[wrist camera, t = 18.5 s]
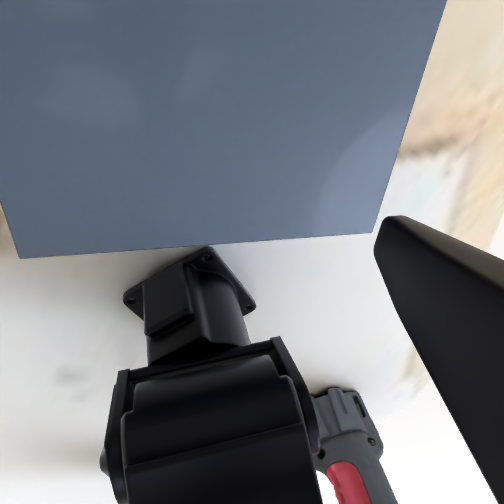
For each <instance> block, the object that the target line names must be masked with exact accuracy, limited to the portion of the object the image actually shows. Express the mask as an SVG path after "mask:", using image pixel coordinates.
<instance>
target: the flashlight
mask: <svg viewBox="0 0 504 504" xmlns="http://www.w3.org/2000/svg"><path fill="white" fill-rule="evenodd" d="M310 397H311V400H312V403H313V406H314V410H315V414H316V418H317V422H318V427H319V434H320V444H321V445H320V452H319V454H316V455H312V457H313V462H314V466H315V470H317V471H320V472H322V473H323V474H325V475H326V476H327V477H328V479H329V480H330V482H331V483H332V484H333V485H334V490H335V493H336V497H337V499H338V501H339V504H398V503H397V500H396V498H395V496H394V493H393V492H392V489H391V487H390V485H389V482H388V480H387V477H386V475H385V473H384V471H383V468H382V466H381V464H380V462H379V458H380V457H381V455H382V453H383V443H382V441H381V439H380V437H379V434H378V431H377V429H376V428H375V425H374V423H373V421H372V419H371V418H370V416H369V414H368V412H367V409H366V407H365V405H364V403H363V400H362V398H361V396H360V394H359V393H358V392H345V393H343V391H342V390H341V388H337V387H336V388H330V389H328V394H327V395H324V396H321V397H318V398H314V397H313V396H312V395H310Z"/></svg>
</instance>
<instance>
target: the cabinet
mask: <svg viewBox="0 0 504 504" xmlns="http://www.w3.org/2000/svg"><path fill="white" fill-rule="evenodd" d="M446 2H447V0H0V202H1V205H2V208H3V211H4V214H5V217H6V220H7V223H8V226H9V229H10V232H11V235H12V238H13V241H14V244H15V247H16V250H17V253H18V256H19V258H20V259H26V258H39V257H52V256H66V255H79V254H93V253H106V252H119V251H133V250H146V249H160V248H173V247H187V246H200V245H213V244H227V243H240V242H254V241H267V240H281V239H294V238H307V237H321V236H334V235H348V234H361V233H372V231H373V228H374V225H375V222H376V219H377V216H378V213H379V210H380V206H381V203H382V200H383V197H384V194H385V191H386V188H387V185H388V182H389V179H390V175H391V172H392V169H393V166H394V163H395V160H396V157H397V154H398V151H399V147H400V144H401V141H402V138H403V135H404V132H405V129H406V126H407V123H408V120H409V116H410V113H411V110H412V107H413V104H414V101H415V98H416V95H417V92H418V89H419V85H420V82H421V79H422V76H423V73H424V70H425V67H426V64H427V61H428V57H429V54H430V51H431V48H432V45H433V42H434V39H435V36H436V33H437V30H438V26H439V23H440V20H441V17H442V14H443V11H444V8H445V5H446Z"/></svg>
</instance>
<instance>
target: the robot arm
mask: <svg viewBox="0 0 504 504" xmlns="http://www.w3.org/2000/svg"><path fill="white" fill-rule="evenodd" d="M205 255H210V256H209V257H204V256H205ZM374 257H375V259H376V262H377V264H378V267H379V269H380V272H381V274H382V277H383V279H384V282H385V284H386V287H387V290H388V292H389V295H390V297H391V300H392V302H393V304H394V307H395V309H396V311H397V313H398V315H399V317H400V319H401V322H402V323H403V325H404V327H405V329H406V331H407V333H408V335H409V337H410V338H411V340H412V342H413V344H414V346H415V348H416V350H417V352H418V354H419V355H420V357H421V359H422V361H423V363H424V365H425V367H426V369H427V370H428V372H429V374H430V376H431V378H432V380H433V382H434V384H435V385H436V387H437V389H438V391H439V393H440V395H441V397H442V398H443V401H444V402H445V404H446V406H447V408H448V410H449V412H450V413H451V415H452V417H453V419H454V421H455V423H456V425H457V426H458V429H459V431H460V432H461V434H462V436H463V438H464V440H465V442H466V444H467V446H468V447H469V449H470V451H471V453H472V455H473V457H474V459H475V460H476V463H477V464H478V466H479V468H480V470H481V472H482V474H483V476H484V478H485V479H486V481H487V483H488V485H489V487H490V489H491V491H492V493H493V495H494V496H495V498H496V500H497V502H498V504H504V260H502V259H500V258H497V257H495V256H493V255H491V254H489V253H487V252H484V251H482V250H480V249H478V248H475V247H473V246H471V245H469V244H466V243H464V242H462V241H460V240H457V239H455V238H453V237H451V236H449V235H446V234H444V233H442V232H440V231H437V230H435V229H433V228H431V227H428V226H426V225H424V224H422V223H420V222H417V221H415V220H413V219H411V218H408V217H406V216H402V215H401V216H388V217H386V218H385V219H384V220H383V221H382V224H381V227H380V230H379V233H378V236H377V239H376V242H375V245H374ZM129 298H134V299H129ZM123 303H124V304H125V305H126V306H127V307H128V308H129V309H131V310H132V311H133V312H134V313H135V314H136V315H138V316H139V317H140V318H141V319H142V320H143V321H144V333H145V335H146V337H147V357H148V367H143V368H139V369H134V370H130V369H126V370H121V371H118V377H117V382H116V385H114V389H113V395H112V401H111V407H110V412H109V418H108V424H107V430H106V436H105V442H104V448H103V451H102V453H101V456H100V468H101V471H102V472H104V473H105V474H106V475H107V476H109V477H110V480H111V483H112V487H113V491H114V495H115V498H116V500H117V502H118V504H323V503H322V498H321V493H320V489H319V484H318V480H317V475H316V471H315V466H314V462H313V457H312V455H316V454H319V452H320V445H321V444H320V434H319V427H318V422H317V418H316V414H315V410H314V406H313V403H312V400H311V397H310V394H309V391H308V389H307V386H306V384H305V382H304V380H303V378H302V376H301V374H300V372H299V371H298V369H297V367H296V365H295V363H294V361H293V359H292V358H291V356H290V354H289V352H288V350H287V348H286V346H285V345H284V343H283V341H282V339H281V337H280V336H278V337H273V338H270V340H267V341H263V342H258V343H253V344H251V343H250V339H249V336H248V332H247V329H246V326H245V322H244V319H243V316H245V315H246V314H248V313H250V312H252V311H253V310H255V308H256V304H255V301H254V299H253V298H252V297H251V296H250V294H249V293H248V292H247V291H246V289H245V288H244V287H243V285H242V284H241V283H240V282H239V280H238V279H237V278H236V277H235V275H234V274H233V273H232V272H231V270H230V269H229V268H228V267H227V265H226V264H225V263H224V262H223V260H222V259H221V258H220V257H219V255H218V254H217V253H216V252H215V250H214V249H212V248H210V247H205V248H203V249H201V250H199V251H197V252H196V253H194V254H192V255H190V256H189V257H187V258H185V259H183V260H182V261H180V262H178V263H176V264H174V265H172V266H170V267H169V268H167V269H165V270H163V271H161V272H160V273H158V274H156V275H154V276H153V277H151V278H149V279H147V280H146V281H144V282H143V283H141V284H139V285H138V286H136V287H134V288H132V289H131V290H129V291H127V292H126V293H125V294H124V295H123ZM247 305H249V306H247Z"/></svg>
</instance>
